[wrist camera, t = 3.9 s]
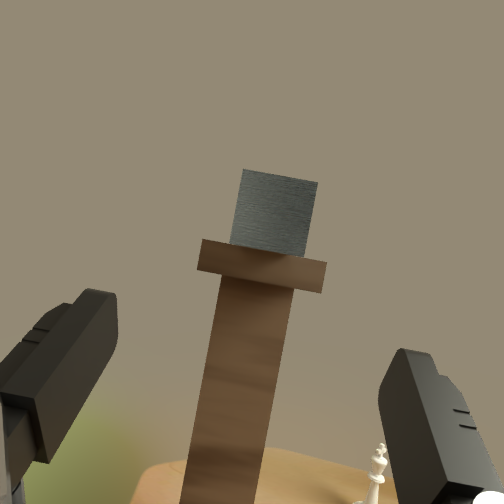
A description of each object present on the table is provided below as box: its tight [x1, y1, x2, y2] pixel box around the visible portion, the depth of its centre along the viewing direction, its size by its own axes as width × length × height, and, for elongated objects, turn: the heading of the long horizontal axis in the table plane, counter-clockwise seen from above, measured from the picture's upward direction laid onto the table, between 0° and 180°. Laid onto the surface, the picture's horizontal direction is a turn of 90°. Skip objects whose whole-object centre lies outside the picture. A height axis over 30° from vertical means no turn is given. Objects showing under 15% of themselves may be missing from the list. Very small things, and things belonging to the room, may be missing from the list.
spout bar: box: [229, 169, 318, 257], centre depth 26 cm, size 22×3×3 cm, turn 179°
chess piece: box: [353, 443, 387, 504], centre depth 50 cm, size 5×5×10 cm
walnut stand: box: [179, 239, 327, 504], centre depth 34 cm, size 20×10×32 cm, turn 179°
